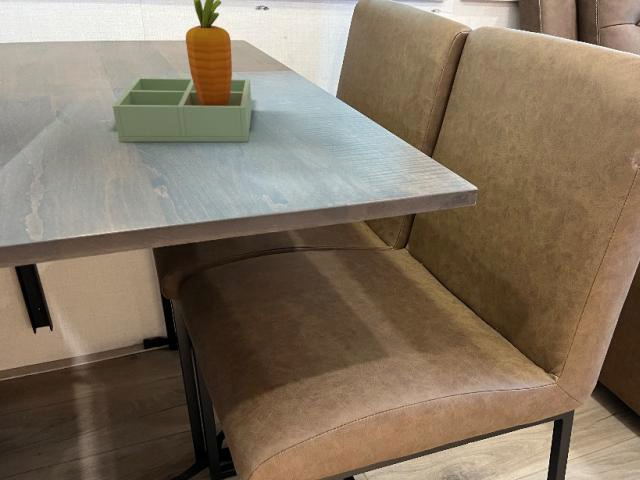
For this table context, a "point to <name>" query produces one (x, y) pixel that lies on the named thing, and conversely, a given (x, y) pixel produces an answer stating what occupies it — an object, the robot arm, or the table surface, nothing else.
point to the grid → (181, 113)
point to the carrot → (210, 57)
